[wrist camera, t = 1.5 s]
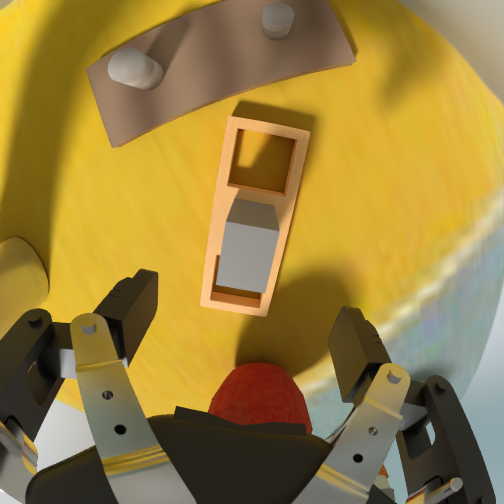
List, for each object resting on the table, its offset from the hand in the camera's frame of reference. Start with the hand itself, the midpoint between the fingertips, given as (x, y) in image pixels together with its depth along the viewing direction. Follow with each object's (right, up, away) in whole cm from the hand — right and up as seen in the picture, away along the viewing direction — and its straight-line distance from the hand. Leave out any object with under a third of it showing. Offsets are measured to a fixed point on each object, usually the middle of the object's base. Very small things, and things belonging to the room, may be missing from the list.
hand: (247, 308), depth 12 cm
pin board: (-3, +18, +6) cm, 19 cm away
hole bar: (0, +5, +11) cm, 12 cm away
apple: (+1, -11, +18) cm, 22 cm away
